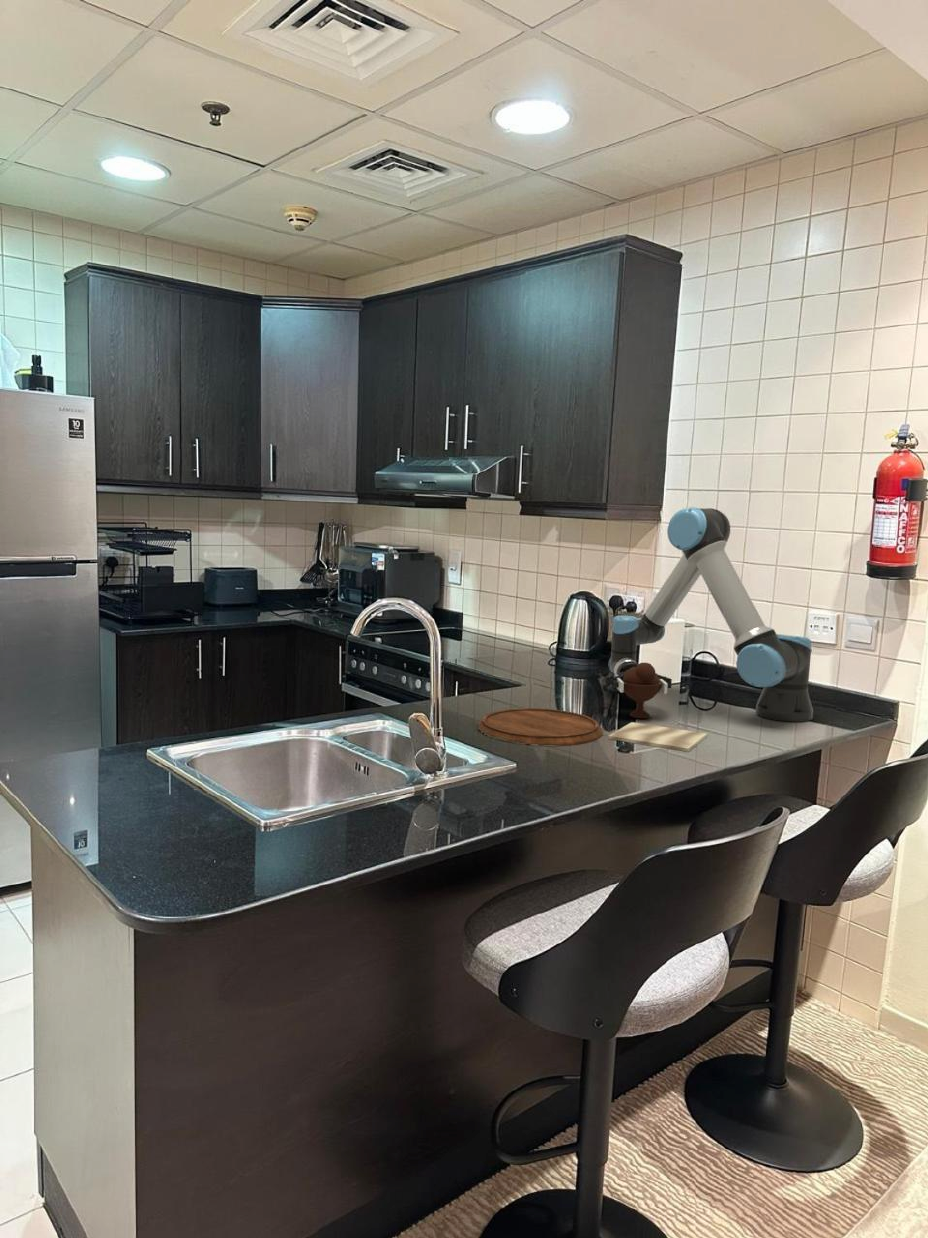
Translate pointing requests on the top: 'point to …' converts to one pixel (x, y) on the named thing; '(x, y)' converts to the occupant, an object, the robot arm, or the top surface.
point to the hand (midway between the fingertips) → (644, 688)
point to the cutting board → (541, 726)
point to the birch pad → (658, 736)
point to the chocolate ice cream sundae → (641, 686)
